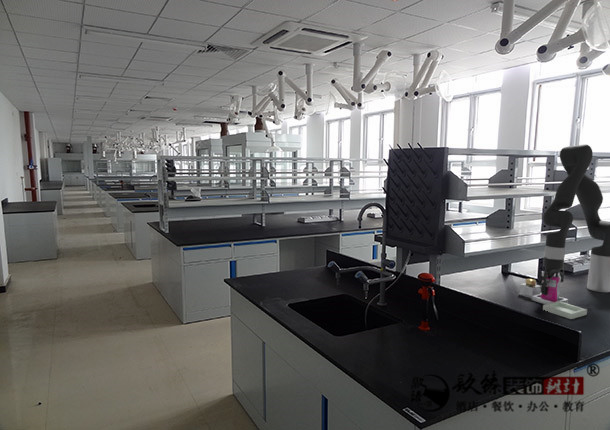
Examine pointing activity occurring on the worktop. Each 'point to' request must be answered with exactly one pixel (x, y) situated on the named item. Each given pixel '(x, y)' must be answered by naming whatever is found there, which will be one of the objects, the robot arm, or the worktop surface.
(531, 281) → the yellow knob
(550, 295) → the supplement box
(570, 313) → the tray
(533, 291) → the socket block
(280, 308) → the worktop surface
